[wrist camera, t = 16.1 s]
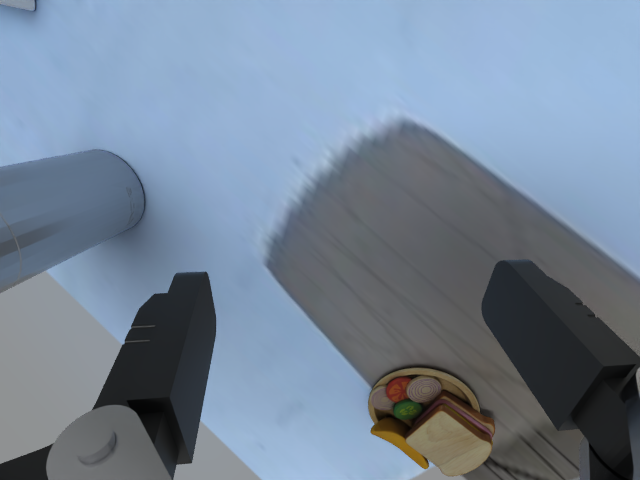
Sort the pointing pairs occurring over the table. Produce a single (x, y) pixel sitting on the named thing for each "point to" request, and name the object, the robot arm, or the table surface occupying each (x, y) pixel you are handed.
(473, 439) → the toy sandwich meal
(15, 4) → the medicine bottle
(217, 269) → the table surface
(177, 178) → the table surface
